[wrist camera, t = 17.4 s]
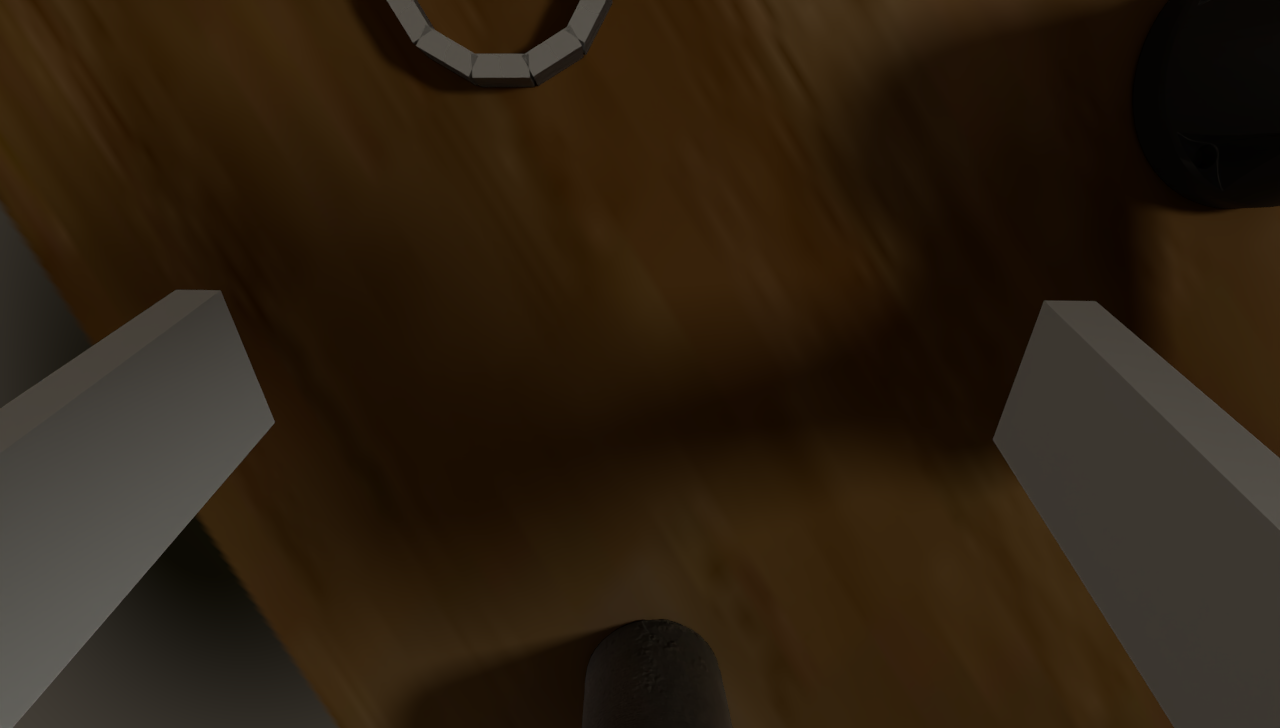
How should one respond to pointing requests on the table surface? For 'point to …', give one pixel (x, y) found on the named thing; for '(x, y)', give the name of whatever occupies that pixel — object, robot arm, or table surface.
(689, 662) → the pillar candle
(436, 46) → the steel ring holder
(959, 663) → the table surface
